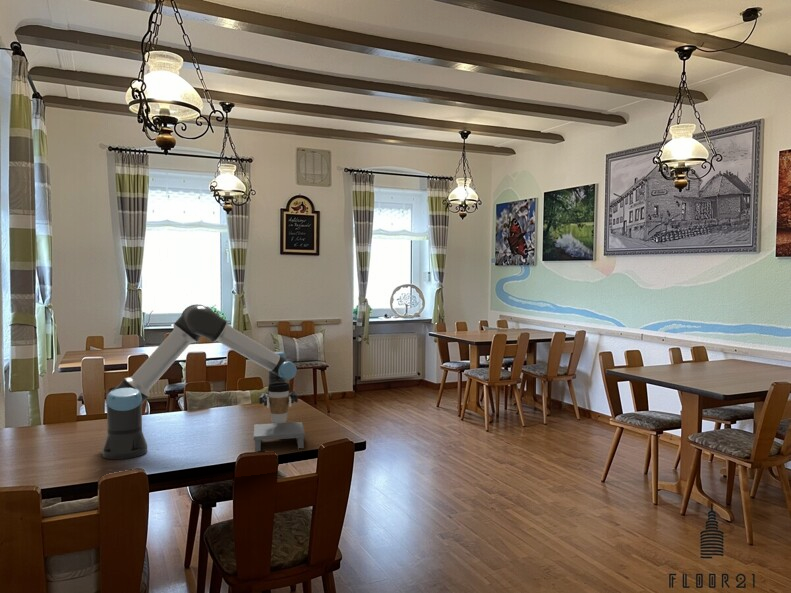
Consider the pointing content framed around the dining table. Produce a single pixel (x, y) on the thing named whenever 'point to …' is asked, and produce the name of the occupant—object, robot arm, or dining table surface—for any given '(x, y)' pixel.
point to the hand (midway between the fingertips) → (279, 403)
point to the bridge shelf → (278, 433)
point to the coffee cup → (278, 401)
